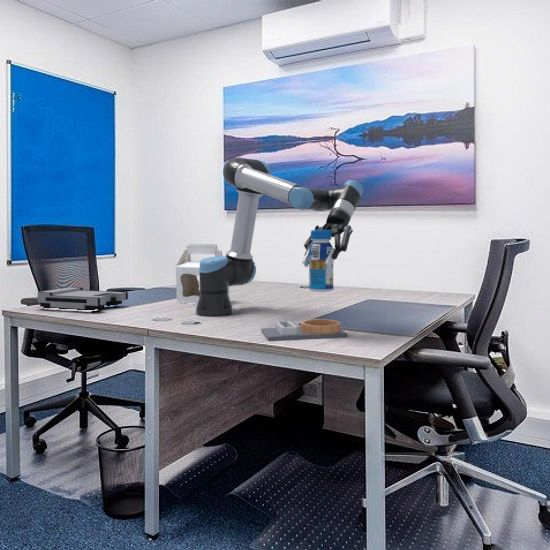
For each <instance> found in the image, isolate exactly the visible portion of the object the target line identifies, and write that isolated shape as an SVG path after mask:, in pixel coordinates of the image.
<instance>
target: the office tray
mask: <svg viewBox="0 0 550 550" xmlns="http://www.w3.org/2000/svg"><path fill="white" fill-rule="evenodd" d="M83 288H84V287H79V286H78V287H77V286H70V287H64V288H63V287H62V288H57V289H51V290H43V291H38V292H37V303H39V307H42V308H43V309H44V308H59V309H77V310H95V309H99V310H100V309H105V308H104V305H107V306H110V305H118V306H119V305H122V304H123V301H127V300H129V292H128V291H113V290H111V291H108V290H89V289H88V290H86V289H83Z"/></svg>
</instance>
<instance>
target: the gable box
mask: <svg viewBox="0 0 550 550" xmlns="http://www.w3.org/2000/svg"><path fill="white" fill-rule="evenodd" d="M185 247H186V250H183V253H182V255H181V257H180V259H179V260H178V262H177V264H176V266H175V283H176V284H175V285H176V286H175V289H176V303H177V302H184V303H183V304H185V303H196V304H195V305H197V304H198V300H199V297H200V281H199V280H198V277H197V276H200V275H199V268H200V261H192V257H191V255H193V254H195V255H197V254H199V255H215V256H214V257H216V256H223V254H222V253H223V252H222V250H219V249H218V245H217V244H216V243H213V244H211V243H210V244H209V243H189V244H188V245H187V246H185ZM228 296H229V299H230V298H231V297H230V286H228ZM230 300H231V299H230Z"/></svg>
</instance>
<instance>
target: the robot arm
mask: <svg viewBox="0 0 550 550" xmlns="http://www.w3.org/2000/svg"><path fill="white" fill-rule="evenodd" d="M272 174H273V173H272V170H271V168H270V166H269V165H268V164H267V163H266V162H265V161H263V160H258V159H253V158H250V159H249V158H244V157H239V156H238V157H233V158H230V159H229V160H227V162H226V163H225V164H224V166H223V170H222V175H223V178H224V181H225V182H226V183H227V184H228V185H229V186H232V187H236V189H235V191H236V192H237V193H238V199H237V200H238V201H237V206H236V212H235V217H234V218H235V219H234V224H233V232H232V237H231V244H230V249H229V250H227V252H226V253H225V256H216V257H215V256H210V257H206V258H202V259H201V260H200V261H199V262H200V268H199V275H198V276H199V292H200V297H199V300H198V304H196V308H195V313H196V314H195V315H197V316H204V317H205V316H206V317H219V315H221V316H228V315H231V314H233V312H234V311H233V305H232V302H231V299H229V296H228V286H229V287H232V286H233V287H235V286H236V287H237V286H244V285H247V284H249V283H250V282H253V280H254V278H255V277H256V273H257V265H255V264H256V263H255V261H254V260H253V259H254V257H253V255H252V253H251V249H252V243H253V239H254V238H253V237H254V231H255V227H256V226H255V225H256V221H257V220H256V218H257V212H258V209H259V207H258V206H259V201H260V198H261V197H263V196H268V197H270V198H273V199H276V200H278V201H281V202H284V203H287V204H290V206H291V207H292V208H294V209H297V210H302V211H303V210H308V211H309V210H311V211H312V210H313V211H314V212H325V211H329V214H328V215H327V217H326V222H325V224H324V225H322V226H319V225H318V224H317V225H315V228H314V230H331V238H334V247H333V248H332V250H331V252H330V254H329V256H328V258H327V260H326V262H325V264H326V265H327V267H328V268H331V266H332V263H333V264H334V262H335V260H337V258H338V256H339V254H340V253H341V252H346V251H347V249H348V245H349V241H350V237H351V235H352V233H353V232H354V231H353V228H352V226H351V225H350V224H349V223H350V221H351V219H352V217H353V215H354V213H355V211H356V208H357V207H358V205H359V203H360V201H361V200H362V196H363V193H364V187H363V185H362V184H361V183H360V182H359V181H357V180H354V179H349V180H347V181H346V182H345V183H344V184H343V185H342V187H336V188H329V189H320V188H311V187H307V186H304V185H300V184H297V183H295V182H292V181H289V180H286V179H283V178H280V177H278V176H275V175H272ZM341 235H343V236H341ZM312 242H313V240H311V235H309V237H308V239H306V241H305V243H304V244H303V247H304V248H305V253H304V257H303V259H302V262H301V263H302V264H303V266H304V267H305V268H309V261H308V257H309V255H310V253H309V248H310V246H311V244H312ZM333 261H334V262H333Z"/></svg>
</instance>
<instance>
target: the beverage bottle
mask: <svg viewBox="0 0 550 550" xmlns="http://www.w3.org/2000/svg"><path fill="white" fill-rule="evenodd" d="M310 236H311V240H313V242H312V244H311V246H310V248H309V253H310V255H309V257H308V261H309V265H308V280H309V281H308V289H309V291H311V292H321V293H324V292H325V293H326V292H332V291H333V290H334V262H335V260H334V261H333V263H332V266H331V268H328V267H327V265H326V264H325V262H326V260H327V258H328V256H329V254H330V252H331V250H332V248H334V246H333V245H332V243H331V242H330V241H331V240H332V237H331V230H315V229H312V230H310Z"/></svg>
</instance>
